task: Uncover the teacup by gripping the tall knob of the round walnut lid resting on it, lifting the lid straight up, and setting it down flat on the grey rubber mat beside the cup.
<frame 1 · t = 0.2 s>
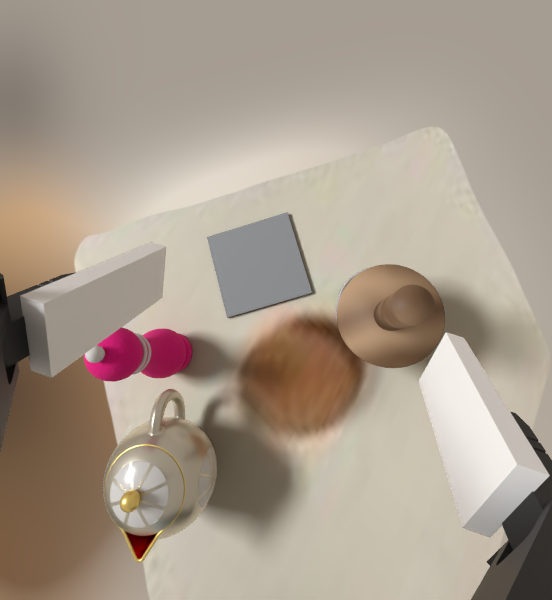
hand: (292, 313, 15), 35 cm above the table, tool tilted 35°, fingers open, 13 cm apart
mat: (258, 264, 52), on the table
lid: (387, 315, 41), point 8 cm above the table, touching teacup
teapot: (187, 443, 49), on the table
pepper mill: (174, 352, 51), on the table
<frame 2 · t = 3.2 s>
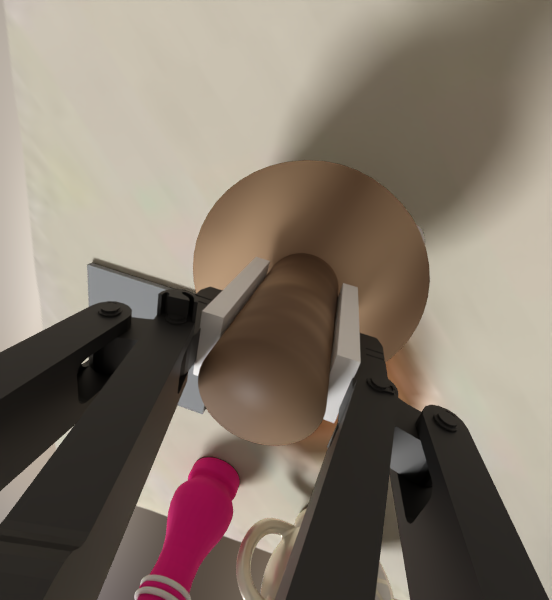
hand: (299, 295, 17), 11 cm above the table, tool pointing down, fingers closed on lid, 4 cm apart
mat: (152, 341, 34), on the table
lid: (305, 280, 19), point 8 cm above the table, touching gripper
teapot: (320, 517, 40), on the table
pepper mill: (217, 473, 41), on the table
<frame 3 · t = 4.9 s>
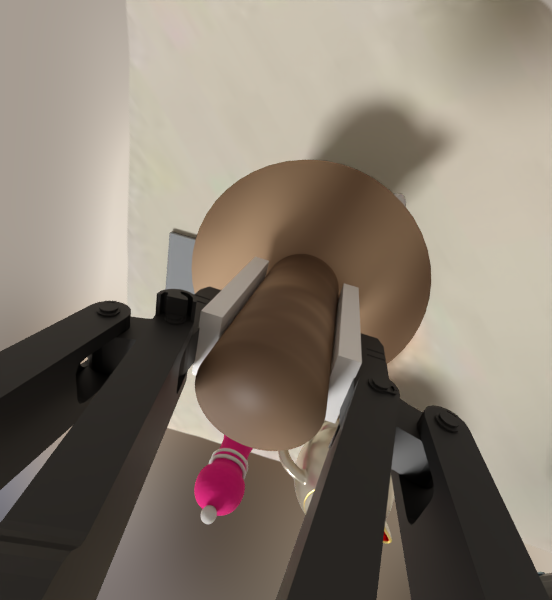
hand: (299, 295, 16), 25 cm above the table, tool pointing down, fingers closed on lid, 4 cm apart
mat: (212, 291, 46), on the table
lid: (304, 281, 18), point 22 cm above the table, touching gripper
teapot: (336, 430, 52), on the table
pepper mill: (256, 398, 53), on the table
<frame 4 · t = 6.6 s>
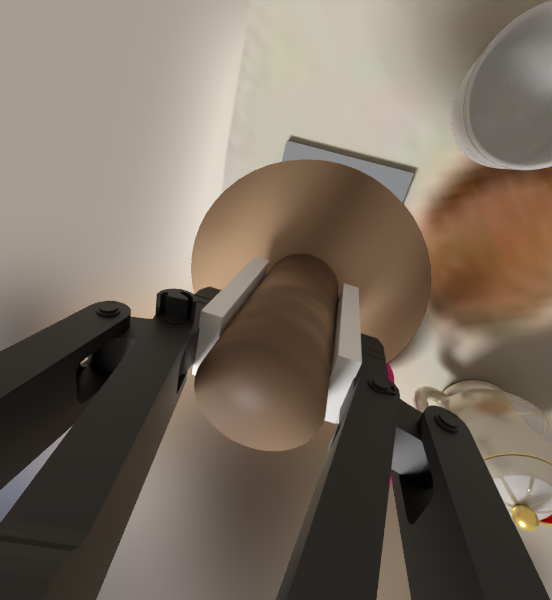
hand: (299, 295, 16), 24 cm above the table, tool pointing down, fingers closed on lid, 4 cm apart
teacup: (521, 103, 30), on the table
mat: (329, 219, 38), on the table
lid: (304, 281, 18), point 21 cm above the table, touching gripper
teapot: (460, 397, 43), on the table
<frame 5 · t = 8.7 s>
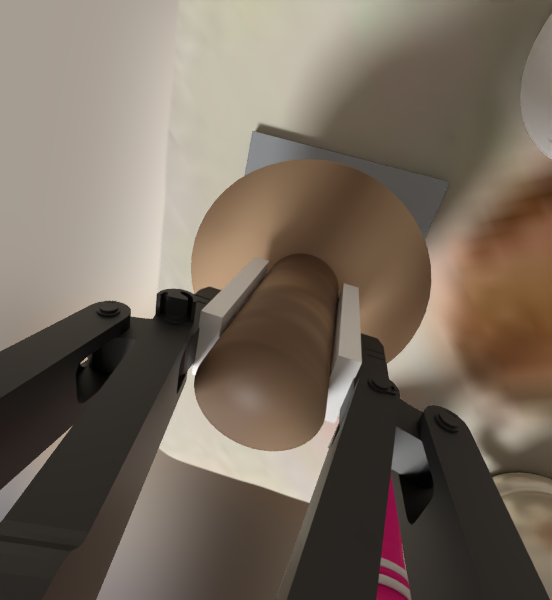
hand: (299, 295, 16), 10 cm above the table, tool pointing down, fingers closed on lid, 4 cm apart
mat: (319, 248, 26), on the table
lid: (304, 281, 18), point 8 cm above the table, touching gripper
teapot: (503, 490, 31), on the table
pepper mill: (367, 434, 32), on the table
when the fingers open (5 cm above the table, at t = 10.5 s): lid drops 2 cm, resting on mat.
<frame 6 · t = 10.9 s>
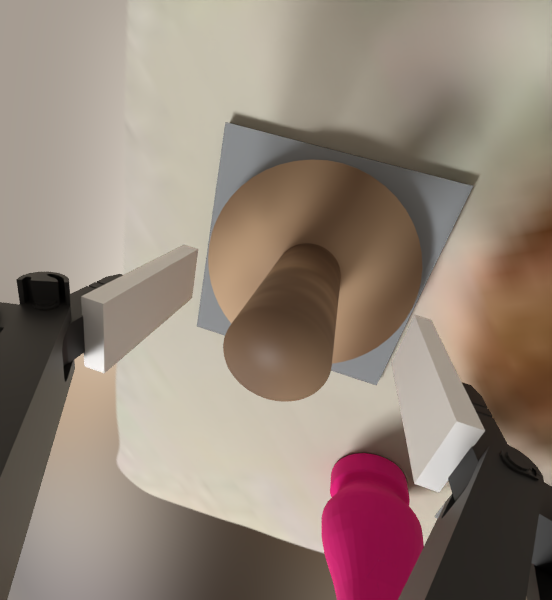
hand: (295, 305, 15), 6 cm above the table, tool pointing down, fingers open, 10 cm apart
mat: (310, 266, 21), on the table
lid: (309, 269, 21), point 1 cm above the table, touching mat
pepper mill: (367, 476, 28), on the table
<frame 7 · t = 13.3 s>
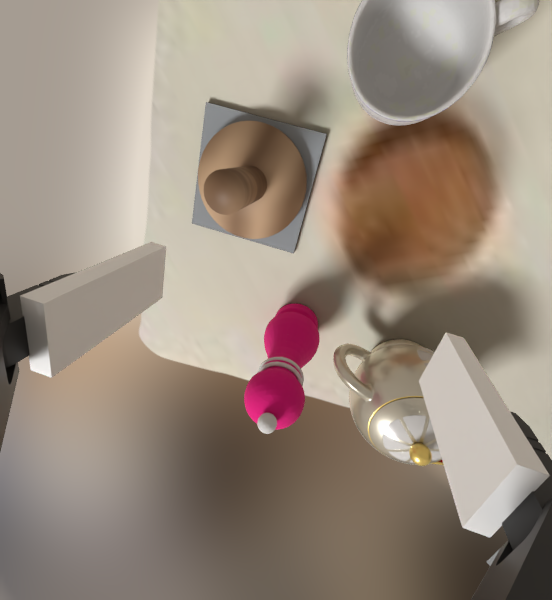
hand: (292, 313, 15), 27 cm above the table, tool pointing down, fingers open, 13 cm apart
teacup: (419, 63, 31), on the table
mat: (254, 182, 39), on the table
lid: (252, 183, 38), point 1 cm above the table, touching mat
teapot: (388, 357, 45), on the table
pepper mill: (296, 321, 46), on the table
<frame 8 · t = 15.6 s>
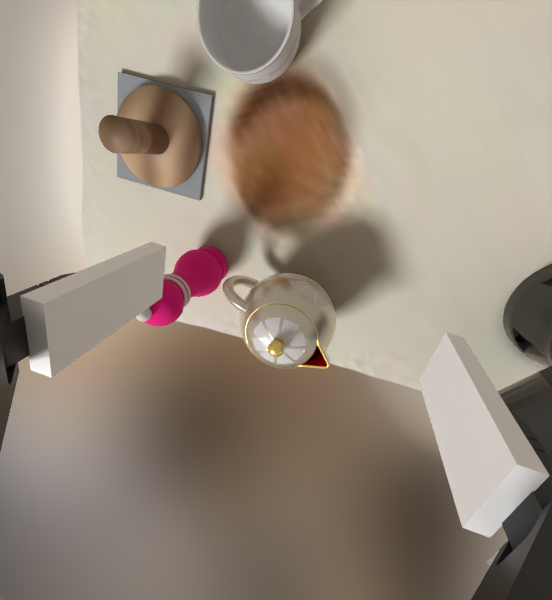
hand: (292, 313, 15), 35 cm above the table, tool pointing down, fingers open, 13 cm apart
teacup: (275, 35, 39), on the table
mat: (162, 139, 47), on the table
lid: (160, 139, 46), point 1 cm above the table, touching mat
teapot: (288, 293, 53), on the table
pepper mill: (210, 264, 54), on the table
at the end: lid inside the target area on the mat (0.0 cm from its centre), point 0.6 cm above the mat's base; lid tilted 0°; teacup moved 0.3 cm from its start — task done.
